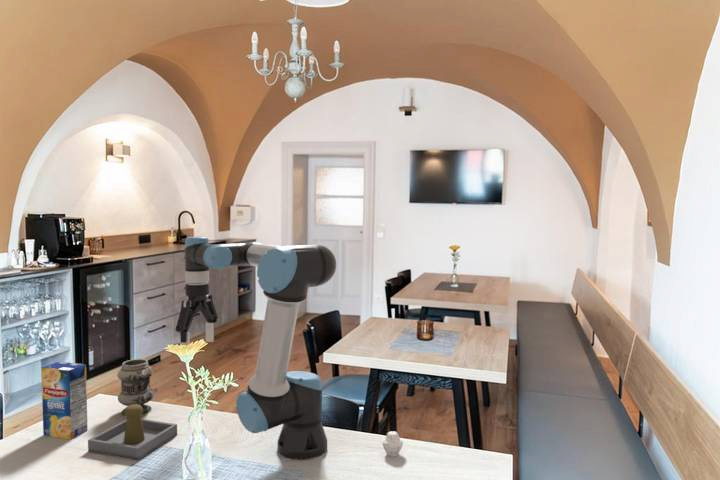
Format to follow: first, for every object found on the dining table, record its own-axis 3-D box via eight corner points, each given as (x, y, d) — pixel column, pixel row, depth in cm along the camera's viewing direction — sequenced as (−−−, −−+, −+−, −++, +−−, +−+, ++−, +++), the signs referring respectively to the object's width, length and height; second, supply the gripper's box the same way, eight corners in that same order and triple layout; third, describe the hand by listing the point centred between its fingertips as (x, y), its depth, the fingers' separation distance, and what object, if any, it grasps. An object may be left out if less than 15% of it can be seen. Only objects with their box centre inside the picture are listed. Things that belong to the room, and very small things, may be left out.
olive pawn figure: (137, 445, 160) (136, 410, 160) (119, 443, 162) (118, 408, 161) (148, 437, 166) (148, 402, 166) (131, 435, 167) (130, 401, 167)
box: (177, 434, 170) (177, 424, 170) (138, 460, 153) (137, 448, 152) (131, 427, 175) (130, 417, 175) (88, 451, 158) (87, 439, 158)
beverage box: (71, 439, 166) (69, 370, 165) (43, 435, 169) (41, 367, 168) (87, 430, 173) (86, 364, 171) (60, 426, 176) (58, 361, 174)
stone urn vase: (135, 403, 197) (134, 355, 196) (161, 407, 193) (161, 358, 192) (110, 415, 185) (109, 364, 184) (137, 420, 181) (136, 368, 180)
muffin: (400, 460, 154) (400, 437, 153) (379, 457, 156) (380, 434, 155) (404, 451, 160) (405, 428, 159) (385, 448, 162) (385, 425, 161)
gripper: (209, 277, 188) (209, 336, 189) (163, 288, 164) (164, 355, 165) (227, 278, 185) (228, 338, 187) (183, 289, 162) (184, 357, 163)
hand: (198, 346), depth 176 cm, fingers open, 13 cm apart
